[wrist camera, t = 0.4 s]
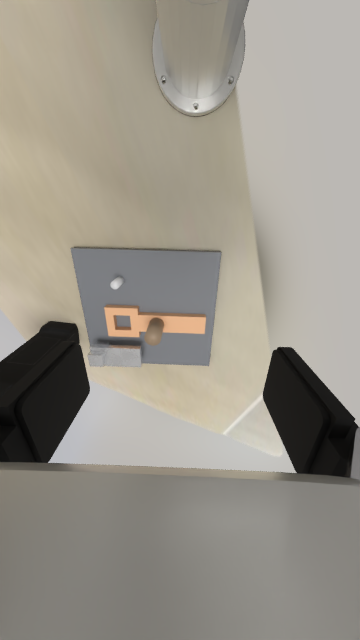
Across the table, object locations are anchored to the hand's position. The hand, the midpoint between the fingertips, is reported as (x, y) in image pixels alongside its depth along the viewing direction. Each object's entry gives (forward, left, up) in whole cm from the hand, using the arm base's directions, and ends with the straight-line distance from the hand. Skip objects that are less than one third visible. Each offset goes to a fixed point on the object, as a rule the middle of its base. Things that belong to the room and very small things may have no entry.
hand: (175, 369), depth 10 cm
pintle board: (+12, -7, -34) cm, 37 cm away
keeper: (+21, -14, -34) cm, 43 cm away
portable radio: (+19, -29, -34) cm, 49 cm away
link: (+14, -6, -33) cm, 36 cm away
